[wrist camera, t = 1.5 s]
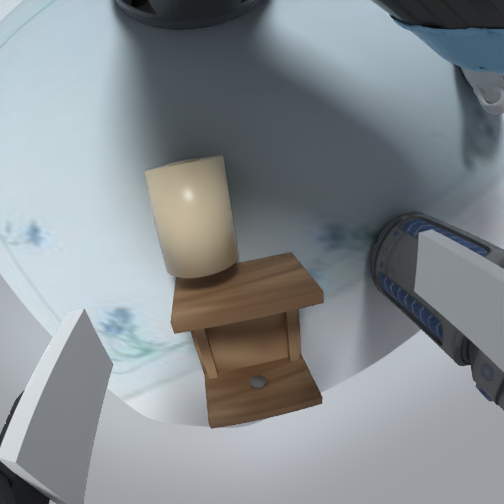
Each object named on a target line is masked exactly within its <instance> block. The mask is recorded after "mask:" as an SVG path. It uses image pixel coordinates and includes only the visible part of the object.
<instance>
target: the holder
mask: <svg viewBox="0 0 504 504" xmlns="http://www.w3.org/2000/svg"><path fill="white" fill-rule="evenodd" d="M321 303H324V299H323V290H322V289H321V288H320V286H319V285H318V284H317V283H316V282H315V280H314V279H313V278H312V277H311V276H310V274H309V273H308V272H307V271H306V270H305V268H304V267H303V266H302V265H301V264H300V262H299V261H298V260H297V259H296V258H295V256H294V255H293V254H292V253H287V254H282V255H277V256H272V257H266V258H261V259H256V260H251V261H246V262H241V263H235V264H233V265H232V266H230V267H229V268H227V269H225V270H223V271H221V272H218V273H215V274H212V275H208V276H204V277H198V278H178V277H176V283H175V291H174V298H173V307H172V315H171V325H172V328H173V331H174V334H175V333H181V332H187V331H191V334H192V337H193V340H194V344H195V347H196V350H197V353H198V356H199V359H200V362H201V365H202V368H203V371H204V374H205V387H206V399H207V410H208V420H209V425H210V427H211V428H218V427H224V426H230V425H236V424H241V423H246V422H251V421H256V420H261V419H265V418H270V417H273V416H278V415H282V414H286V413H290V412H294V411H298V410H301V409H305V408H308V407H312V406H315V405H319V404H322V396H321V393H320V391H319V389H318V387H317V385H316V383H315V381H314V379H313V377H312V375H311V373H310V371H309V369H308V367H307V365H306V363H305V361H304V359H303V357H302V355H301V343H300V325H299V309H300V308H304V307H308V306H313V305H317V304H321Z"/></svg>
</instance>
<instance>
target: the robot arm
mask: <svg viewBox="0 0 504 504" xmlns="http://www.w3.org/2000/svg"><path fill="white" fill-rule="evenodd" d="M259 1H260V0H116V2H117V4H118V5H119V6H120V8H121V9H122V10H123V11H124V12H125V13H126V14H128V15H129V16H130V17H132V18H134V19H135V20H137V21H140V22H142V23H144V24H148V25H151V26H155V27H160V28H167V29H194V28H202V27H207V26H212V25H216V24H219V23H223V22H226V21H228V20H231V19H233V18H235V17H237V16H239V15H241V14H243V13H245V12H246V11H248V10H249V9H251V8H252V7H253V6H255V5H256V4H257V3H258V2H259ZM371 1H373V2H374V3H376V4H377V5H378V6H380V7H381V8H382V9H384V10H385V11H386V12H388V13H389V15H390V16H391V18H393V20H394V22H396V23H397V24H398V25H399V26H401V27H403V28H405V29H407V30H410V31H412V32H413V33H414V34H415V35H416V36H418V37H419V38H420V39H421V40H422V41H424V42H425V43H426V44H427V45H428V46H429V47H431V48H432V49H433V50H434V51H435V52H436V53H437V54H439V55H440V56H441V57H443V58H444V59H446V60H447V61H449V62H451V63H453V64H455V65H457V66H459V67H462V68H465V69H468V70H471V71H477V72H494V73H496V74H502V75H504V0H371ZM414 292H416V293H417V294H418V295H419V296H420V297H422V298H423V299H424V300H425V301H426V302H427V303H429V304H430V305H431V306H432V307H433V308H435V309H436V310H437V311H438V312H439V313H440V314H441V315H443V316H444V317H445V318H446V319H447V320H448V321H449V322H451V323H452V324H453V325H454V326H455V327H456V328H457V329H458V330H460V331H461V332H462V333H463V334H464V335H465V336H466V337H467V338H468V339H469V340H471V341H472V342H473V343H474V344H475V345H476V346H477V347H478V348H479V349H480V350H481V351H482V352H483V353H484V354H485V355H487V356H488V357H489V358H490V359H491V360H492V361H493V362H494V363H495V364H496V365H497V366H498V367H499V368H500V369H501V370H502V371H503V372H504V269H503V268H501V267H500V266H498V265H496V264H495V263H493V262H491V261H489V260H488V259H486V258H484V257H482V256H481V255H479V254H477V253H475V252H474V251H472V250H470V249H468V248H466V247H465V246H463V245H461V244H459V243H457V242H455V241H453V240H451V239H450V238H448V237H446V236H444V235H442V234H440V233H438V232H436V231H434V230H432V229H431V230H428V231H424V232H420V233H419V239H418V256H417V268H416V278H415V288H414ZM112 367H113V363H112V361H111V359H110V358H109V356H108V354H107V352H106V350H105V348H104V347H103V345H102V343H101V341H100V339H99V337H98V335H97V333H96V331H95V329H94V327H93V325H92V323H91V321H90V319H89V317H88V315H87V313H86V311H85V309H79V310H74V311H68V313H67V315H66V316H65V318H64V319H63V321H62V323H61V324H60V326H59V328H58V329H57V331H56V333H55V335H54V336H53V338H52V340H51V341H50V343H49V345H48V347H47V349H46V350H45V352H44V354H43V356H42V358H41V359H40V361H39V363H38V365H37V367H36V369H35V371H34V373H33V375H32V377H31V378H30V380H29V382H28V384H27V386H26V389H25V390H24V391H23V392H22V393H21V394H20V395H19V397H18V398H17V399H16V400H15V402H14V405H13V407H12V409H11V411H10V413H11V414H9V416H8V418H7V420H6V424H5V425H4V427H3V430H2V432H1V434H0V504H49V500H52V501H53V502H55V503H56V504H84V496H85V489H86V483H87V476H88V470H89V465H90V459H91V454H92V448H93V444H94V439H95V434H96V430H97V425H98V421H99V417H100V412H101V408H102V404H103V400H104V396H105V392H106V389H107V385H108V381H109V377H110V374H111V370H112Z"/></svg>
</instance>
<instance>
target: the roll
mask: <svg viewBox="0 0 504 504" xmlns="http://www.w3.org/2000/svg"><path fill="white" fill-rule="evenodd" d="M144 172H145V178H146V183H147V188H148V193H149V198H150V203H151V207H152V212H153V216H154V221H155V225H156V229H157V234H158V238H159V242H160V246H161V250H162V254H163V258H164V262H165V266H166V270H167V272H168V273H169V274H170V275H172V276H174V277H178V278H198V277H204V276H208V275H212V274H215V273H218V272H221V271H223V270H225V269H227V268H229V267H230V266H232V265H233V264H234V263H235V262H236V261H237V260H238V258H239V253H238V247H237V241H236V235H235V229H234V222H233V216H232V210H231V203H230V197H229V190H228V184H227V177H226V171H225V164H224V158H223V156H211V157H204V158H200V157H199V158H192V159H187V160H181V161H177V162H172V163H168V164H166V165H164V166H160V167H156V168H152V169H149V170H146V171H144Z"/></svg>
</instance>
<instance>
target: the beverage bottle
mask: <svg viewBox="0 0 504 504" xmlns="http://www.w3.org/2000/svg"><path fill="white" fill-rule="evenodd" d="M431 229H432V230H434V231H436V232H438V233H440V234H442V235H444V236H446V237H448V238H450V239H451V240H453V241H455V242H457V243H459V244H461V245H463V246H465V247H466V248H468V249H470V250H472V251H474V252H475V253H477V254H479V255H481V256H482V257H484V258H486V259H488V260H489V261H491V262H493V263H495V264H496V265H498V266H500V267H501V268H503V269H504V250H503V249H501V248H499V247H497V246H495V245H493V244H491V243H489V242H487V241H485V240H483V239H481V238H478V237H476V236H474V235H472V234H470V233H468V232H465V231H463V230H461V229H459V228H456V227H454V226H452V225H449V224H447V223H445V222H442V221H440V220H438V219H435V218H433V217H430V216H428V215H425V214H423V213H419V212H411V213H407V214H404V215H402V216H400V217H398V218H396V219H394V220H392V221H391V222H390V223H389V224H388V225H387V226H386V227H385V228H384V229H383V230H382V232H381V233H380V235H379V236H378V238H377V241H378V242H377V244H375V245H374V248H373V251H372V256H371V270H372V277H373V280H374V283H375V286H376V287H377V289H378V290H379V291H380V292H381V293H382V294H383V295H384V296H386V297H387V298H388V299H389V300H390V301H391V302H392V303H393V304H394V305H396V306H397V307H398V308H399V309H400V310H401V311H402V312H403V313H404V314H405V315H407V316H408V317H409V318H410V319H411V320H412V321H413V322H414V323H415V324H416V325H417V326H418V327H419V328H421V329H422V330H423V331H424V332H425V333H426V334H427V335H428V336H429V337H430V338H431V339H432V340H433V341H434V342H435V343H436V344H437V345H438V346H439V347H441V349H443V350H444V351H445V352H446V353H447V354H448V355H449V356H450V357H451V358H452V359H453V360H454V361H455V362H456V363H457V364H458V365H460V366H466V365H471V370H472V377H473V380H474V381H475V382H476V388H477V389H478V390H479V391H480V392H481V393H482V394H483V395H484V396H485V397H486V398H487V399H488V400H489V401H494V402H495V403H496V404H497V405H499V406H500V407H501V408H502V409H503V410H504V372H503V371H502V370H501V369H500V368H499V367H498V366H497V365H496V364H495V363H494V362H493V361H492V360H491V359H490V358H489V357H488V356H487V355H485V354H484V353H483V352H482V351H481V350H480V349H479V348H478V347H477V346H476V345H475V344H474V343H473V342H472V341H471V340H469V339H468V338H467V337H466V336H465V335H464V334H463V333H462V332H461V331H460V330H458V329H457V328H456V327H455V326H454V325H453V324H452V323H451V322H449V321H448V320H447V319H446V318H445V317H444V316H443V315H441V314H440V313H439V312H438V311H437V310H436V309H435V308H433V307H432V306H431V305H430V304H429V303H427V302H426V301H425V300H424V299H423V298H422V297H420V296H419V295H418V294H417V293H416V292H414V288H415V278H416V268H417V256H418V239H419V233H420V232H424V231H428V230H431Z"/></svg>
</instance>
